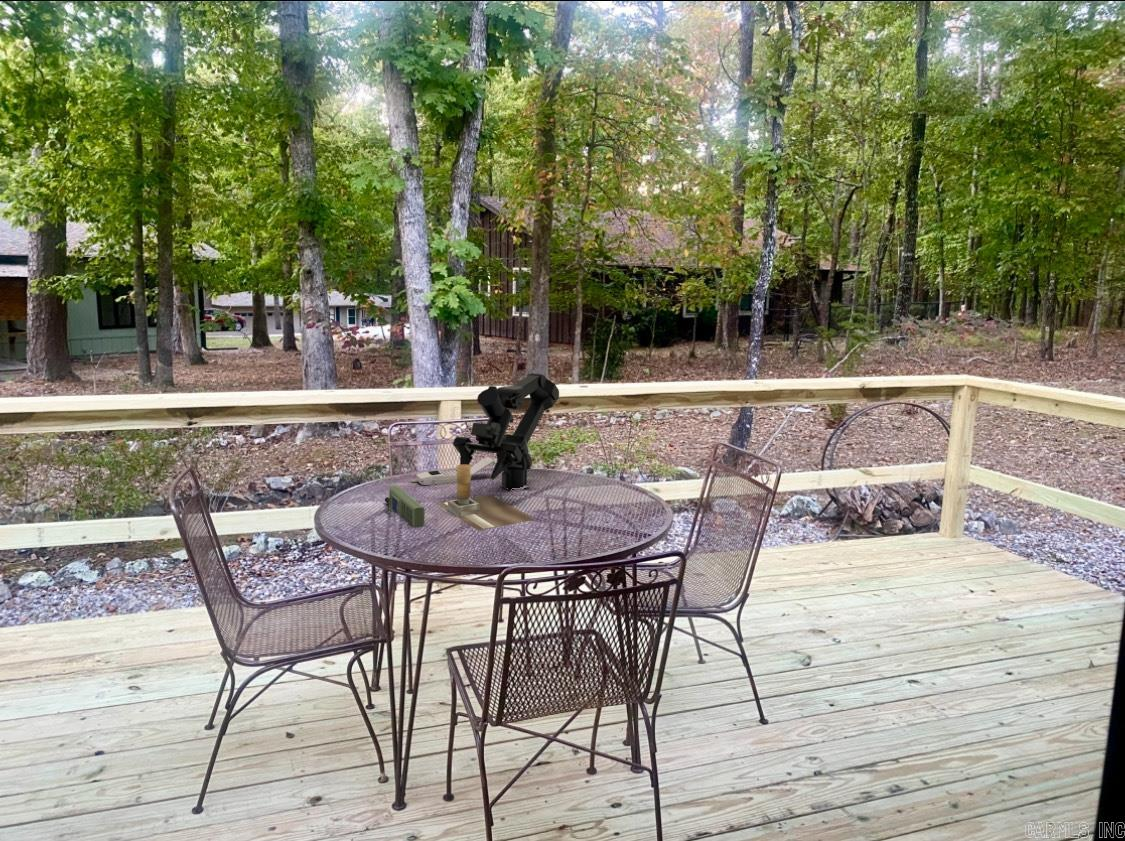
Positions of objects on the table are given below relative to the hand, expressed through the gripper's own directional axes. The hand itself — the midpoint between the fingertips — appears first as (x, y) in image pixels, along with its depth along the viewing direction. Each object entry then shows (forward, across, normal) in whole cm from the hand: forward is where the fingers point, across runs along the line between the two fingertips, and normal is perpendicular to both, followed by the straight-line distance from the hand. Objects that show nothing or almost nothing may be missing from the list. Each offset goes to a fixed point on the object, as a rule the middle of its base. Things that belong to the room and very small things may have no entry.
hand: (476, 476), depth 192 cm
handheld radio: (+16, -14, -3) cm, 22 cm away
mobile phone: (-8, -20, +22) cm, 30 cm away
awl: (+10, 0, +1) cm, 10 cm away
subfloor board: (+9, +5, +4) cm, 11 cm away
